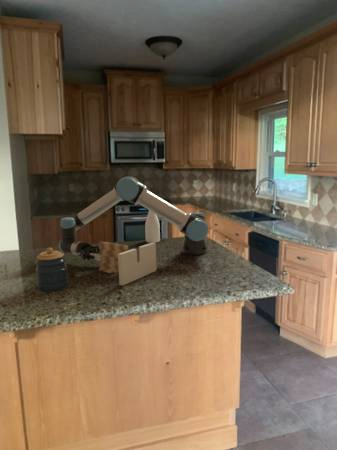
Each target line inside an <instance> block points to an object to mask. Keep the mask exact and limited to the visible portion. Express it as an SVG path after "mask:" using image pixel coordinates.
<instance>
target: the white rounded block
mask: <svg viewBox="0 0 337 450" xmlns="http://www.w3.org/2000/svg"><path fill="white" fill-rule="evenodd" d="M160 224H161V223H160V220H159V218H158V215H157V214H155V213H153V212H152V211H150V210H148V212H147V216H146V220H145V224H144V226H145V230H144V231H145V242H146V243H147V244H149V243H152V242H153V243H159V242H160V241H161V232H160V230H161V227H160V226H161V225H160Z"/></svg>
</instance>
